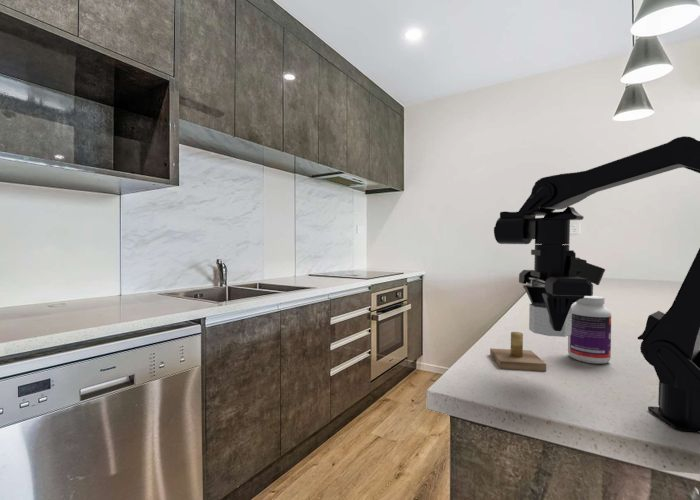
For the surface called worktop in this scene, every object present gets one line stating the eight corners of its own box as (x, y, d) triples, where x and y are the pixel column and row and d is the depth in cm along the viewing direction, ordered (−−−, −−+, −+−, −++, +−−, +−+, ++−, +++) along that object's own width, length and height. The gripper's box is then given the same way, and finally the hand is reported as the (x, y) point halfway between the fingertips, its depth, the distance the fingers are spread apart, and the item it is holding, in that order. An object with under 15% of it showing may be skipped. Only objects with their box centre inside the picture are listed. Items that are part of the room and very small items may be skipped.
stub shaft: (546, 371, 73) (546, 339, 72) (500, 368, 74) (500, 337, 74) (530, 356, 81) (531, 329, 81) (490, 354, 83) (490, 327, 83)
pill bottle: (618, 366, 75) (619, 300, 75) (576, 364, 77) (578, 298, 77) (599, 354, 83) (600, 294, 83) (562, 352, 85) (563, 293, 84)
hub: (576, 337, 63) (576, 309, 63) (537, 335, 64) (538, 308, 64) (560, 328, 70) (561, 303, 70) (525, 326, 71) (526, 302, 71)
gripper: (629, 245, 56) (627, 342, 57) (574, 244, 75) (572, 317, 75) (554, 245, 58) (552, 339, 58) (518, 244, 76) (517, 315, 77)
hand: (549, 326), depth 67 cm, fingers closed on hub, 6 cm apart
